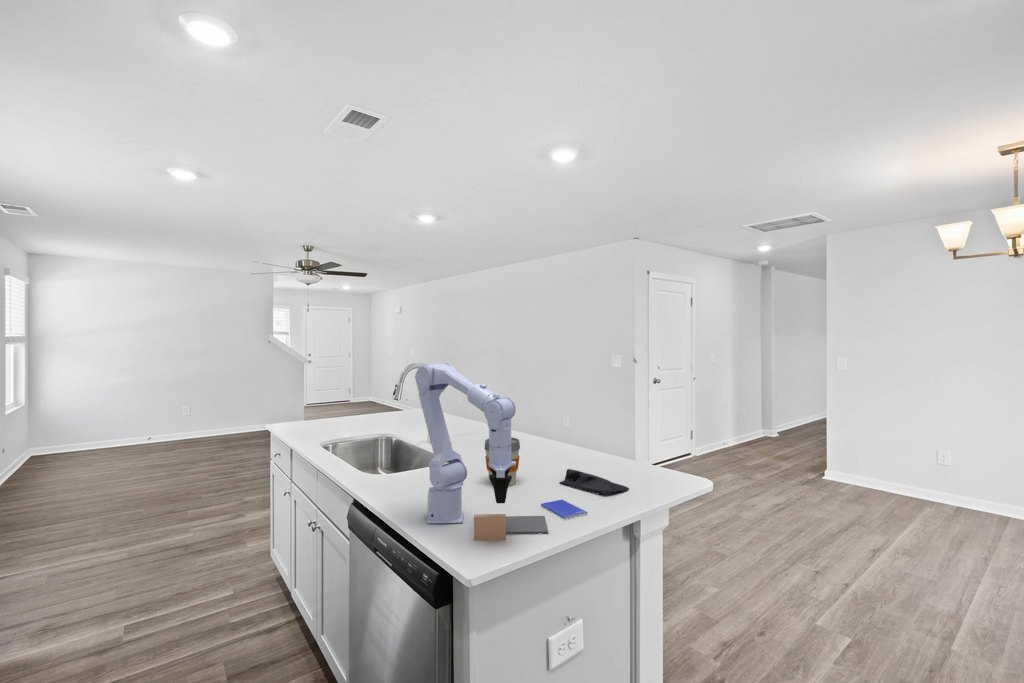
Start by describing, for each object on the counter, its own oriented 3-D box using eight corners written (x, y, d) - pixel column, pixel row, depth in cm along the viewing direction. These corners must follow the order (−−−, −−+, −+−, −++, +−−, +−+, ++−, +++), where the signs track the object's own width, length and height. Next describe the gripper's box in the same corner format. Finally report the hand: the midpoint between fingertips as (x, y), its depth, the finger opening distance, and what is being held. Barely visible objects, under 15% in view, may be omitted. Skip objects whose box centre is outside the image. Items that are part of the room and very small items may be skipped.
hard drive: (587, 511, 136) (563, 499, 147) (564, 516, 132) (540, 503, 143) (587, 516, 136) (563, 504, 147) (564, 522, 132) (540, 508, 143)
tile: (473, 540, 119) (473, 516, 119) (474, 537, 121) (474, 514, 121) (505, 540, 119) (505, 516, 119) (505, 537, 121) (505, 513, 121)
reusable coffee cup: (509, 490, 159) (508, 445, 158) (477, 485, 165) (477, 442, 165) (526, 480, 169) (526, 438, 169) (496, 476, 176) (496, 435, 176)
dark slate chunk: (601, 500, 149) (601, 485, 149) (555, 484, 167) (555, 470, 167) (633, 491, 158) (633, 477, 158) (587, 476, 176) (586, 463, 176)
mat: (494, 534, 123) (494, 532, 123) (495, 518, 134) (494, 516, 134) (548, 533, 123) (548, 531, 123) (544, 517, 134) (544, 515, 134)
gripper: (516, 451, 115) (517, 507, 115) (514, 439, 130) (514, 488, 130) (487, 452, 115) (488, 507, 115) (488, 439, 130) (489, 489, 130)
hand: (500, 497), depth 123 cm, fingers open, 7 cm apart
